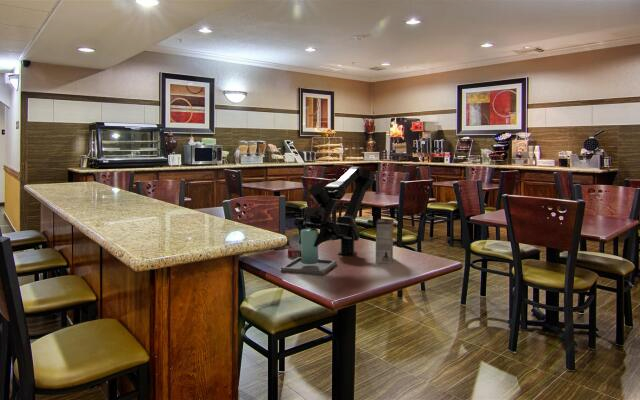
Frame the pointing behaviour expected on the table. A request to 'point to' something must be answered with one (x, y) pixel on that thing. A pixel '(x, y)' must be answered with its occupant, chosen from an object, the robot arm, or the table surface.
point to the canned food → (294, 246)
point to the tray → (309, 267)
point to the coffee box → (384, 241)
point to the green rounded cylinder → (309, 246)
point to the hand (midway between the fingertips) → (307, 245)
